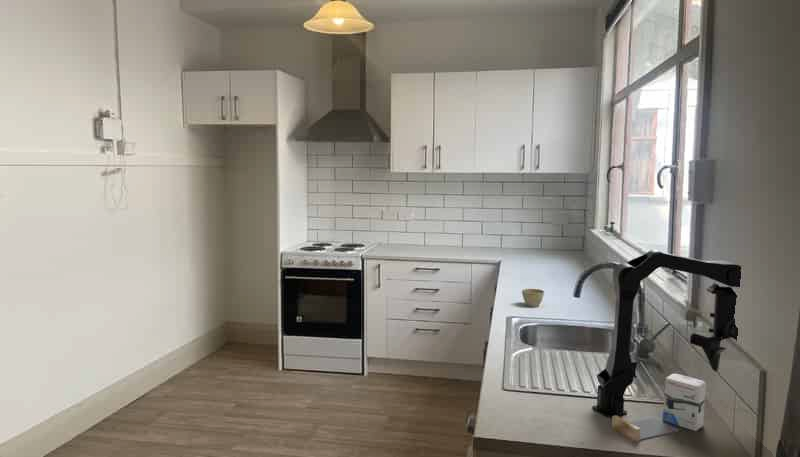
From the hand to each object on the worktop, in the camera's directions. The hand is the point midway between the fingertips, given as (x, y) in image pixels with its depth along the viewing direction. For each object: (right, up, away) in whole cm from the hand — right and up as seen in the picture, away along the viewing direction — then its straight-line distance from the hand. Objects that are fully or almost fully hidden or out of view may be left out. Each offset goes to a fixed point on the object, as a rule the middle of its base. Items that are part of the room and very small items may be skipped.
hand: (722, 369), depth 155 cm
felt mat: (-22, -14, -6) cm, 26 cm away
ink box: (-11, -14, -2) cm, 18 cm away
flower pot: (-22, 0, +122) cm, 124 cm away
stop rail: (-28, -14, -9) cm, 33 cm away
